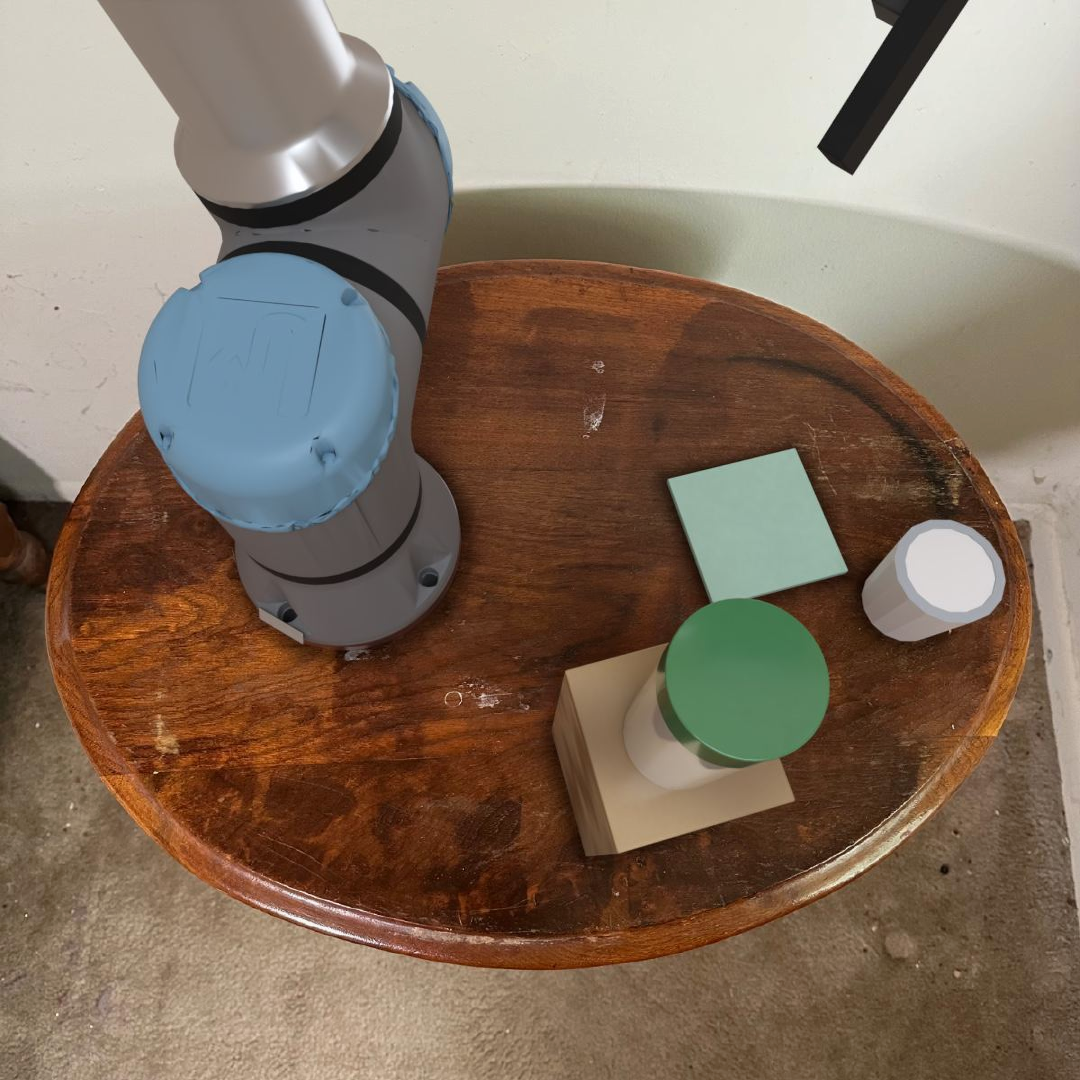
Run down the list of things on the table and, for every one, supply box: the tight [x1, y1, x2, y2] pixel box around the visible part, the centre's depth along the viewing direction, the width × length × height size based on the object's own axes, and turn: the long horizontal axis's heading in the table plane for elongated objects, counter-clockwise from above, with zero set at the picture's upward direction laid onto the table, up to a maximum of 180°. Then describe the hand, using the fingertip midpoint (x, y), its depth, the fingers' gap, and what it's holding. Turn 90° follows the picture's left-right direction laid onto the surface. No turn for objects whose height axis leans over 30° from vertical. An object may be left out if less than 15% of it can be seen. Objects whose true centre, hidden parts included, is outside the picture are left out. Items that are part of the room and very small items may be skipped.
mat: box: [666, 447, 849, 604], centre depth 59 cm, size 10×10×1 cm
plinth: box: [550, 642, 796, 857], centre depth 44 cm, size 8×8×18 cm
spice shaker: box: [623, 598, 831, 791], centre depth 30 cm, size 5×5×12 cm
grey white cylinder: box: [861, 519, 1006, 642], centre depth 54 cm, size 7×7×7 cm
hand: (1060, 297), depth 21 cm, fingers open, 13 cm apart
